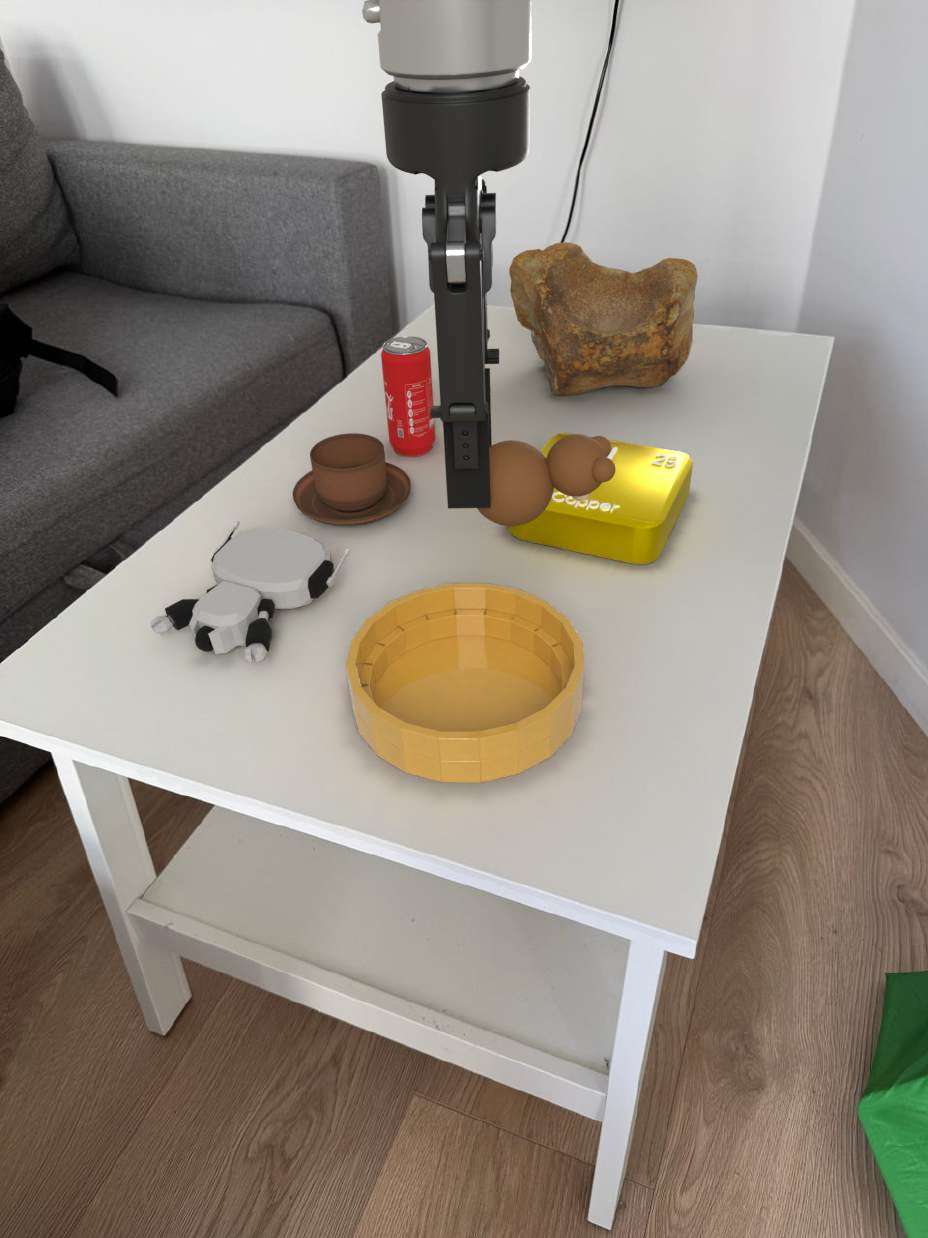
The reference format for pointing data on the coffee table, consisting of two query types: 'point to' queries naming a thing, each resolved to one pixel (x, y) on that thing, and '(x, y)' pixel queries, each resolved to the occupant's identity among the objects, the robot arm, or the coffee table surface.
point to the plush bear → (544, 475)
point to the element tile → (618, 507)
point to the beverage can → (408, 395)
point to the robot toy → (253, 589)
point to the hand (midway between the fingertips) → (470, 481)
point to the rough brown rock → (604, 318)
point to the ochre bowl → (466, 681)
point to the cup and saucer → (350, 482)
